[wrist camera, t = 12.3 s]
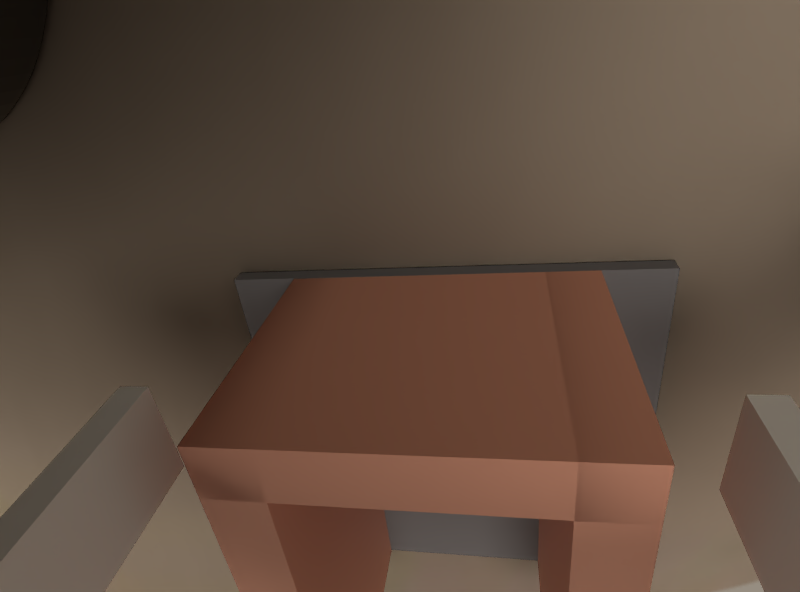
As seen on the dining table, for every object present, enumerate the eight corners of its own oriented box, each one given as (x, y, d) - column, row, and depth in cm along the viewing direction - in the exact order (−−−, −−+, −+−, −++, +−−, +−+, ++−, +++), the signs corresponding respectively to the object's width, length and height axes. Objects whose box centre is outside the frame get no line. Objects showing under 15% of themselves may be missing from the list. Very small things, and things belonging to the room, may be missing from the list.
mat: (315, 533, 23) (312, 543, 23) (240, 272, 17) (234, 279, 17) (627, 555, 21) (630, 567, 21) (674, 260, 15) (679, 268, 14)
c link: (357, 547, 23) (307, 748, 17) (294, 278, 16) (177, 446, 10) (577, 563, 21) (609, 793, 15) (601, 270, 15) (674, 465, 9)
